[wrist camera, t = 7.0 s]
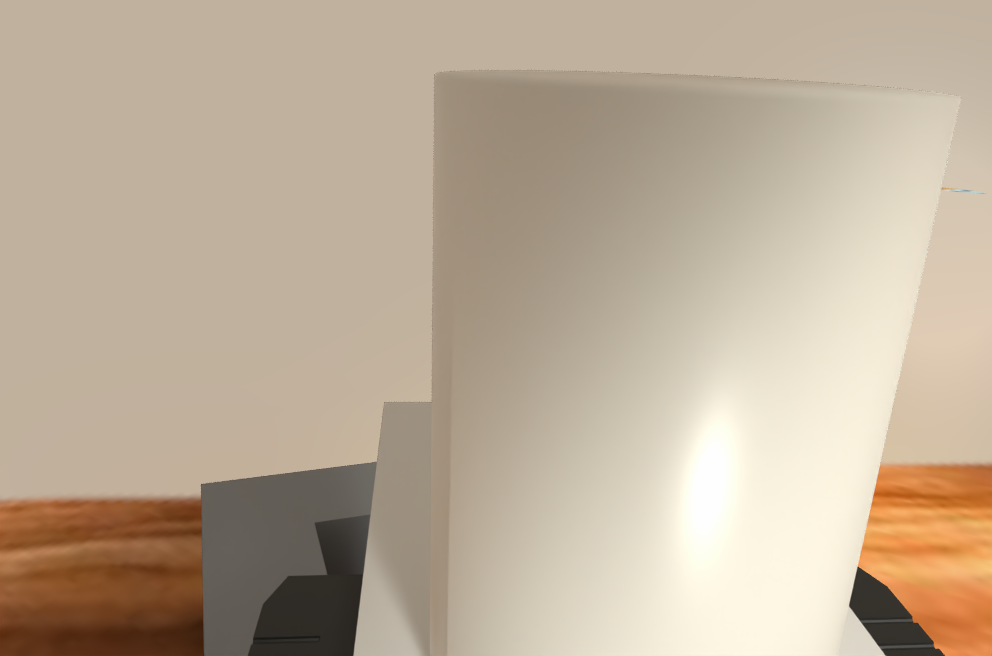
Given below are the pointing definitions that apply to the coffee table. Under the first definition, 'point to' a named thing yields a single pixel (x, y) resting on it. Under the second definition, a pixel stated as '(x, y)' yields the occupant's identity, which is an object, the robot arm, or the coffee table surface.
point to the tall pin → (666, 354)
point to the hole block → (276, 542)
